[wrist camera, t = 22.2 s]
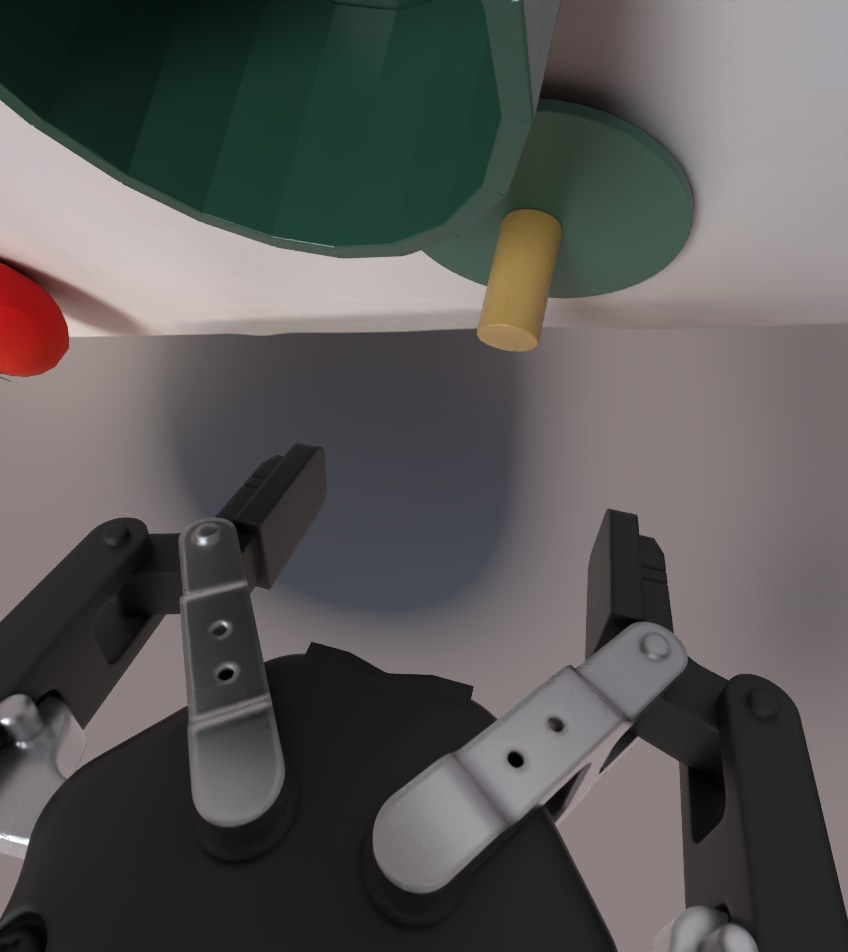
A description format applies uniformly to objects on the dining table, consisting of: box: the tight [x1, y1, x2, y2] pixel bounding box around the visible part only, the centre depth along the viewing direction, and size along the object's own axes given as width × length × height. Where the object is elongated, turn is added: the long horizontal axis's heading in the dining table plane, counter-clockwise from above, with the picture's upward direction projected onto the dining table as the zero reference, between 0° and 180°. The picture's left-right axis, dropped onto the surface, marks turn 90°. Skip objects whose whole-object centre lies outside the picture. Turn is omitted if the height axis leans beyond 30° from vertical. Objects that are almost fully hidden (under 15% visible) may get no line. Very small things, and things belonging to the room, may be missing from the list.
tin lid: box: [422, 98, 694, 351], centre depth 25 cm, size 13×13×7 cm
